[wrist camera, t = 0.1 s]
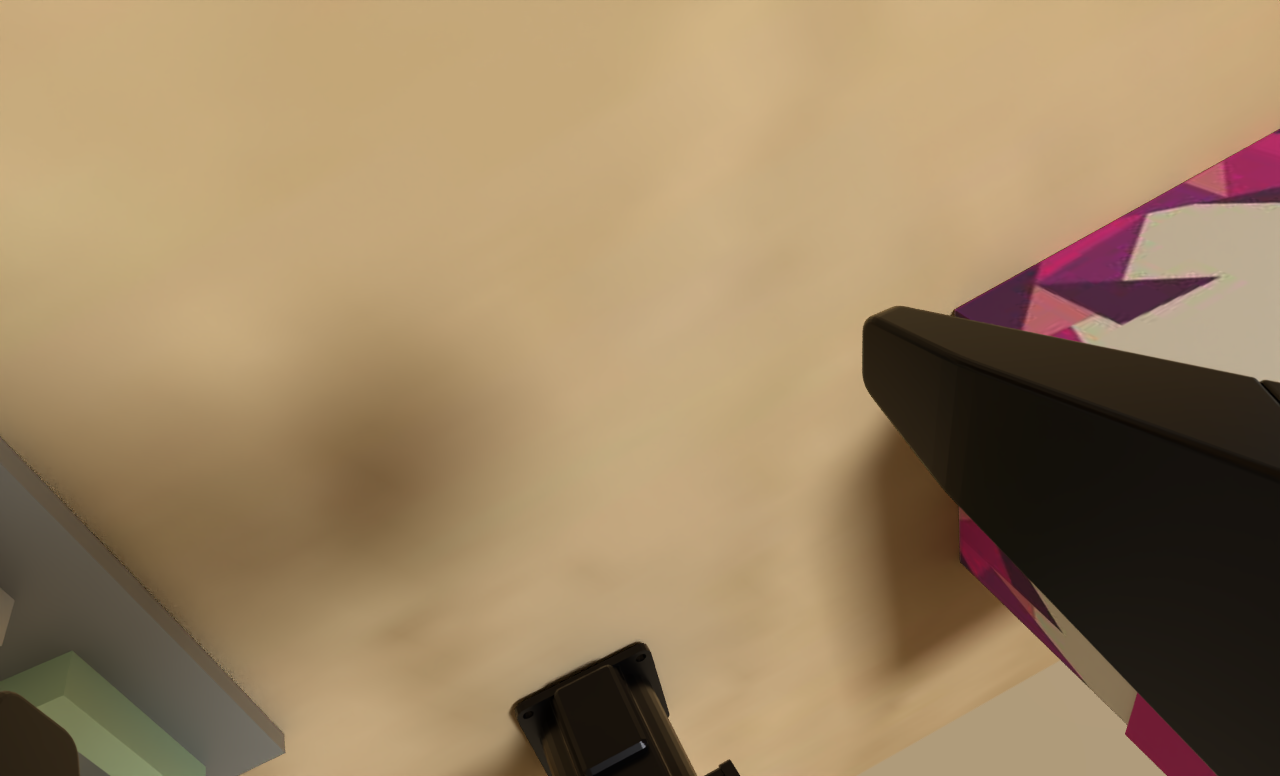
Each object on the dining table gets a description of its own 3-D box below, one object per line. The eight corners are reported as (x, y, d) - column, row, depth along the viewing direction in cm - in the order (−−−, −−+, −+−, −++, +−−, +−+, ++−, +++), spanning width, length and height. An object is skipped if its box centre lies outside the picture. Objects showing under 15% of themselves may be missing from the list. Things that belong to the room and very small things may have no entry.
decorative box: (947, 306, 32) (1342, 556, 21) (1295, 113, 34) (1813, 242, 23) (954, 566, 44) (1204, 812, 33) (1211, 409, 47) (1524, 587, 35)
